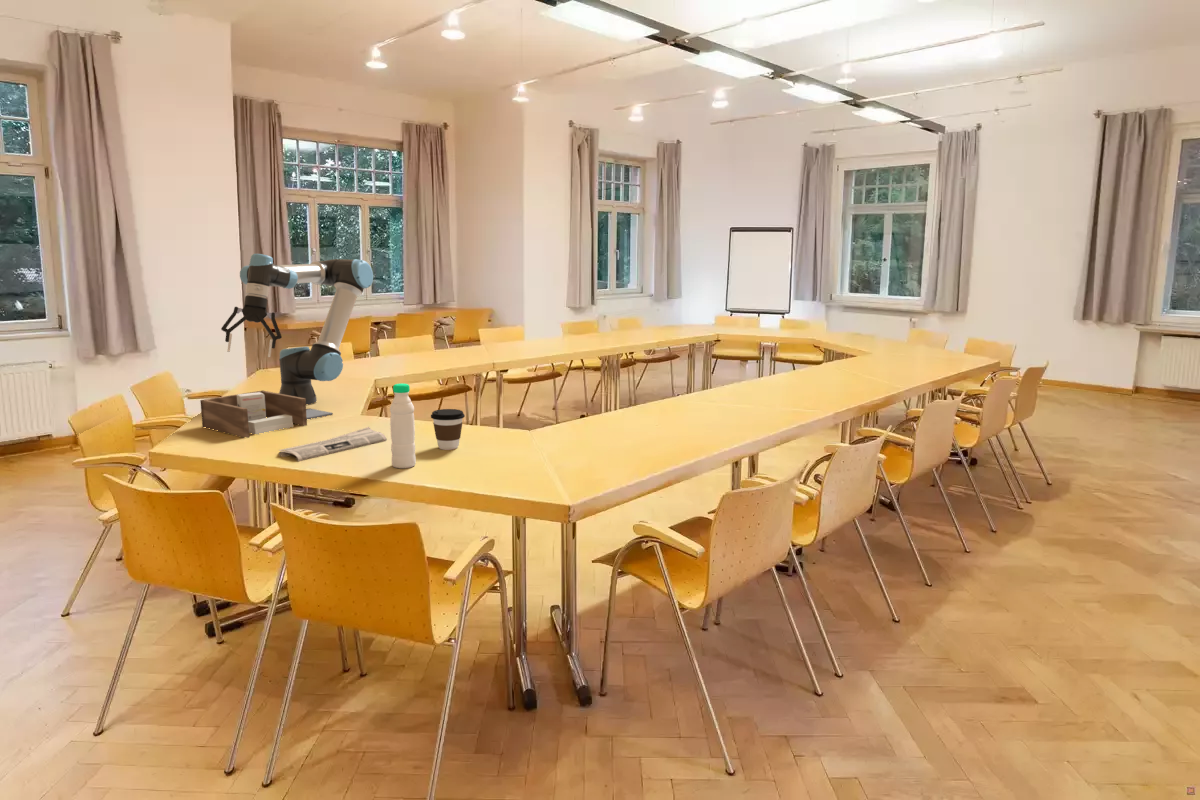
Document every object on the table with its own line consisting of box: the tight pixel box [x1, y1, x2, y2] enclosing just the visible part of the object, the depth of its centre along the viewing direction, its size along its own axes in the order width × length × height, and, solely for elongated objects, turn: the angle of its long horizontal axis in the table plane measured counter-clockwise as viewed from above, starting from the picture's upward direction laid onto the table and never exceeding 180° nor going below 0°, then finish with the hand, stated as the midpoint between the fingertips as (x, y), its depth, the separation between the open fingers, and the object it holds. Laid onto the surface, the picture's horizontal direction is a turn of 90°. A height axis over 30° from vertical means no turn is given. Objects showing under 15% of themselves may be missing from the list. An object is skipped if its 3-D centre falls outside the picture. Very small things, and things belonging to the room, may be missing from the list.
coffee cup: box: [430, 408, 466, 451], centre depth 261 cm, size 11×11×12 cm
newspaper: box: [278, 426, 387, 462], centre depth 260 cm, size 35×12×4 cm, turn 145°
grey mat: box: [306, 407, 334, 420], centre depth 306 cm, size 13×14×1 cm
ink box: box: [236, 392, 266, 421], centre depth 287 cm, size 9×5×12 cm, turn 129°
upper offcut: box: [248, 414, 292, 430], centre depth 281 cm, size 15×4×2 cm, turn 146°
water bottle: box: [389, 382, 417, 469], centre depth 237 cm, size 7×7×25 cm
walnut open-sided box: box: [199, 390, 308, 438], centre depth 286 cm, size 25×26×10 cm
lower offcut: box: [249, 422, 294, 435], centre depth 282 cm, size 15×4×2 cm, turn 146°
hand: (248, 354), depth 289 cm, fingers open, 13 cm apart
